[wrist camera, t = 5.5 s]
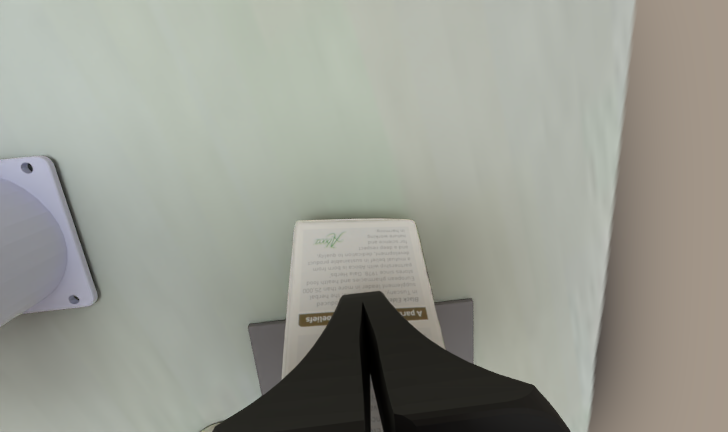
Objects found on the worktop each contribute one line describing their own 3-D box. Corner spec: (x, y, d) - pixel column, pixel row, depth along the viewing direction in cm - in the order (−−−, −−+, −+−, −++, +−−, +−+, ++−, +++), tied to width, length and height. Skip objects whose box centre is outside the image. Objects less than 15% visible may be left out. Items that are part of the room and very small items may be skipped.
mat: (285, 501, 25) (285, 506, 25) (249, 324, 21) (247, 326, 21) (472, 476, 26) (473, 480, 25) (471, 298, 22) (473, 301, 21)
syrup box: (291, 217, 17) (228, 800, 7) (420, 214, 17) (545, 761, 7) (301, 287, 21) (273, 713, 11) (405, 284, 21) (471, 691, 11)
